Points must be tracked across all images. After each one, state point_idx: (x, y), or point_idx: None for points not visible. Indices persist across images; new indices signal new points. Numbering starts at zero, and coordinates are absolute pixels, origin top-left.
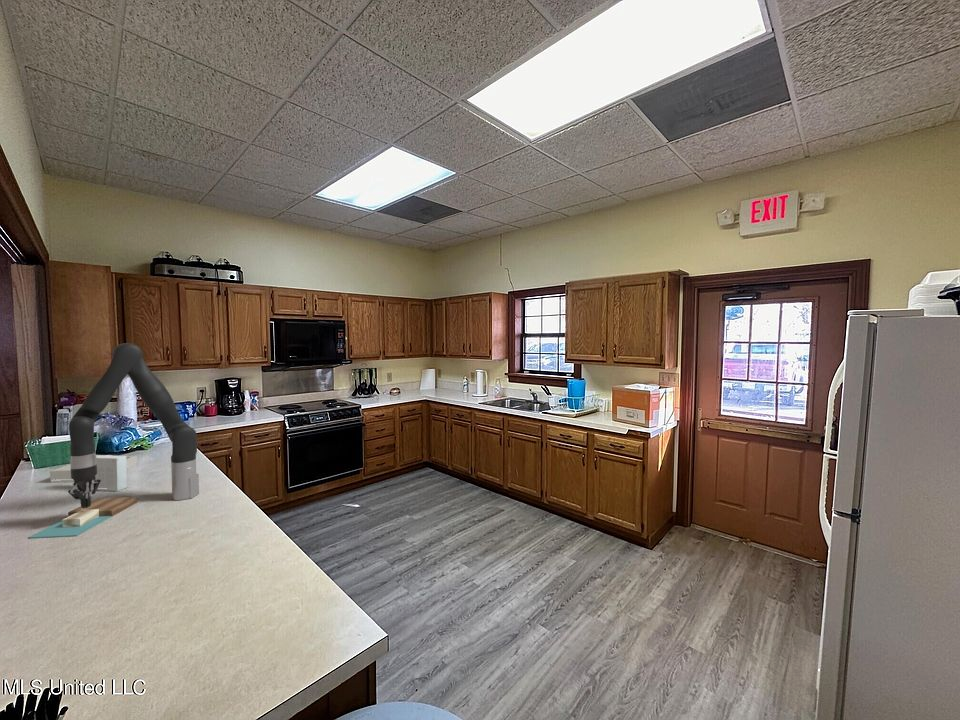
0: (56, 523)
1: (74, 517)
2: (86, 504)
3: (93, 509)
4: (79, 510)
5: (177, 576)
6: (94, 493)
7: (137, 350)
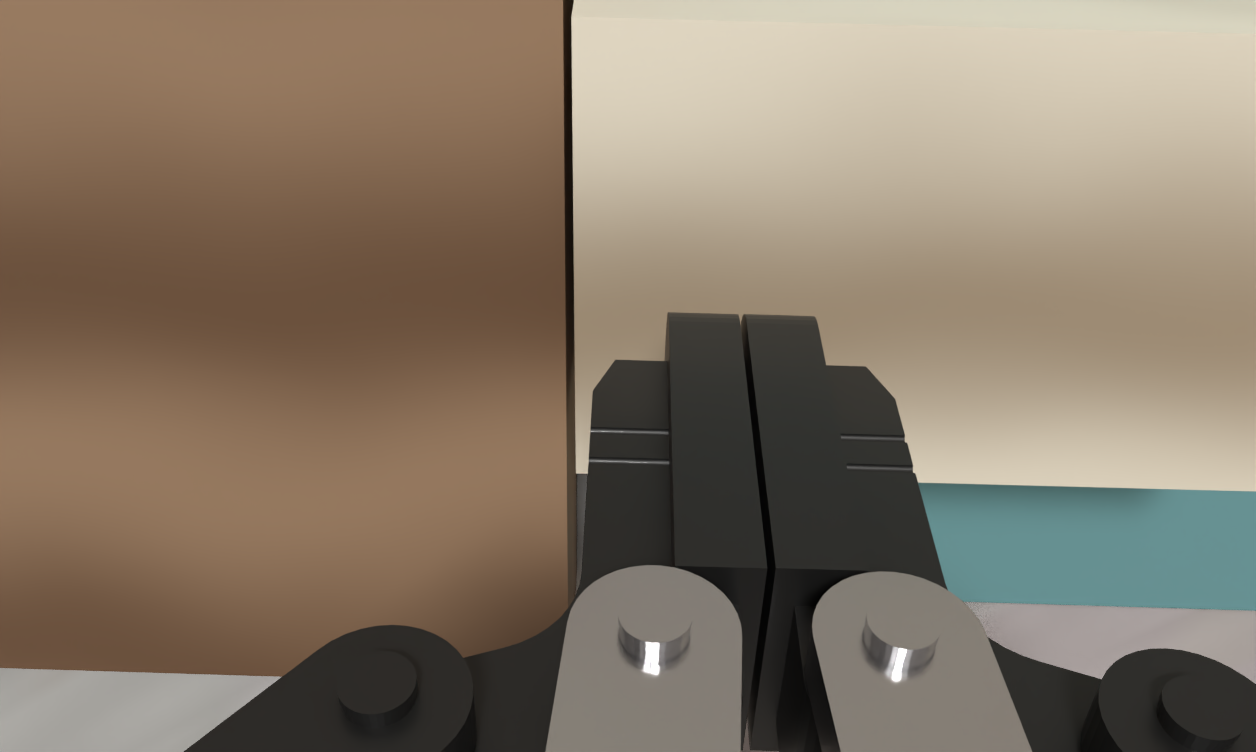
0: None
1: (1224, 297)
2: (830, 414)
3: (595, 179)
4: (471, 549)
5: None
6: (383, 637)
7: None
